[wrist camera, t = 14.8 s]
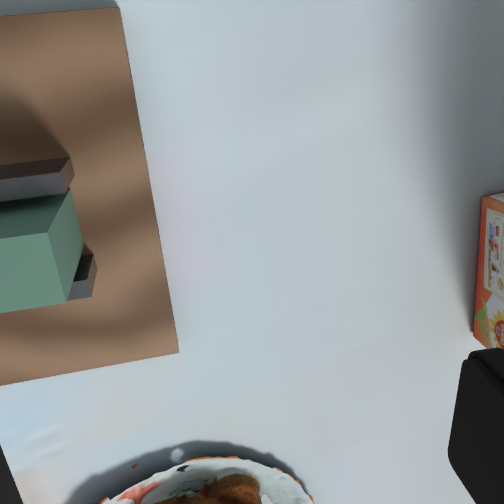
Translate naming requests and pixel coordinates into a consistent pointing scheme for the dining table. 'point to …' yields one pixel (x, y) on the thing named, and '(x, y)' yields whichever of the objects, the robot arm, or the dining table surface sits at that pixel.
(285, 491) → the food on plate
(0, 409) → the dining table surface
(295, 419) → the dining table surface
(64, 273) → the green rectangular block
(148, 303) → the stand
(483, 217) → the cracker box
